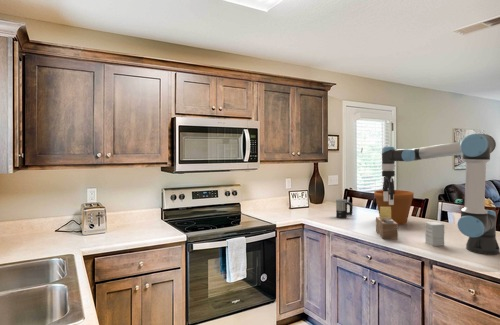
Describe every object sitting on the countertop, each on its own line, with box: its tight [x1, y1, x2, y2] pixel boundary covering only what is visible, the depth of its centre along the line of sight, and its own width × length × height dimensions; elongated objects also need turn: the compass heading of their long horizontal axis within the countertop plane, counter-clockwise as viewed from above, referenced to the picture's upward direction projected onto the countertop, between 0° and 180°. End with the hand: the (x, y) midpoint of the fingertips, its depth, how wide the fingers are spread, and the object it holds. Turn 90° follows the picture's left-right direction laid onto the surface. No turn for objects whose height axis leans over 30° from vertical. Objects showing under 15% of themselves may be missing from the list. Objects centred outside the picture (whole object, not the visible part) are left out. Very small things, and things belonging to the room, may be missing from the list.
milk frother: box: [335, 199, 354, 219], centre depth 274 cm, size 14×16×15 cm
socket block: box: [375, 216, 399, 240], centre depth 214 cm, size 19×9×10 cm, turn 171°
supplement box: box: [424, 221, 445, 247], centre depth 191 cm, size 7×7×13 cm
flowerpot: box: [373, 189, 415, 226], centre depth 250 cm, size 28×28×24 cm
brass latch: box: [379, 207, 391, 219], centre depth 215 cm, size 1×7×8 cm, turn 80°
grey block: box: [384, 218, 393, 223], centre depth 208 cm, size 7×4×11 cm, turn 171°
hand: (388, 203), depth 207 cm, fingers open, 13 cm apart
